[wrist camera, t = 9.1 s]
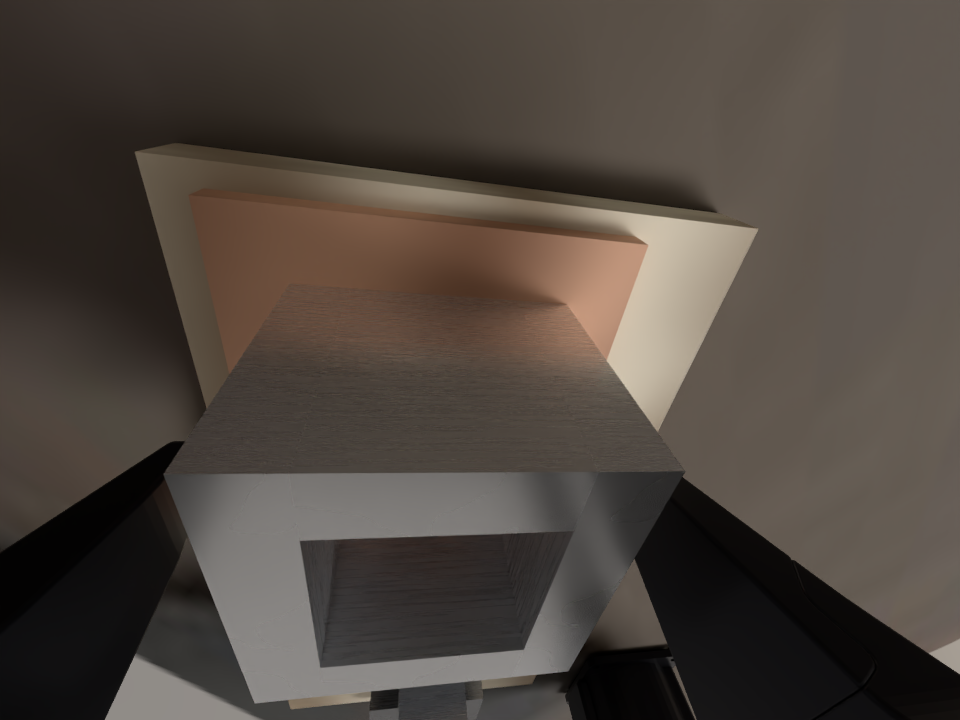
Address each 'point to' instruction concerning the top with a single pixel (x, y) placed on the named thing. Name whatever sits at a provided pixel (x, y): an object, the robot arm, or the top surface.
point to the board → (434, 260)
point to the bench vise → (428, 702)
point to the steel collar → (416, 491)
